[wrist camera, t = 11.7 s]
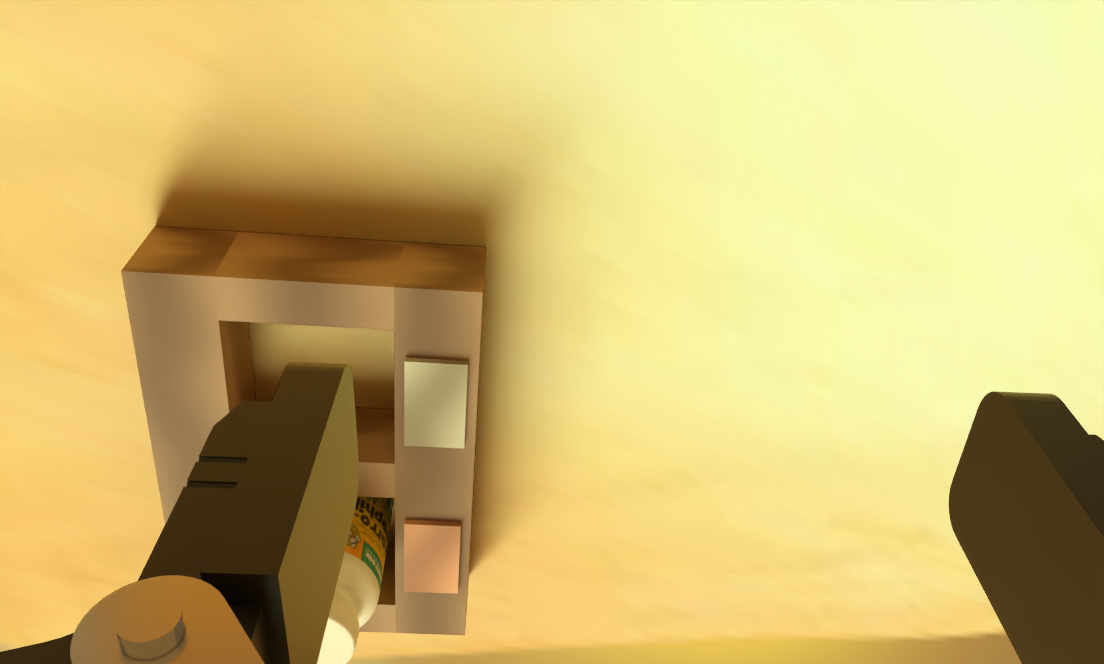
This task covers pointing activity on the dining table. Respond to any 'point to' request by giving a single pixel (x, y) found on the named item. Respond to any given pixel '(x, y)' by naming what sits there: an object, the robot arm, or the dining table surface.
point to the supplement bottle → (357, 579)
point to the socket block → (382, 434)
